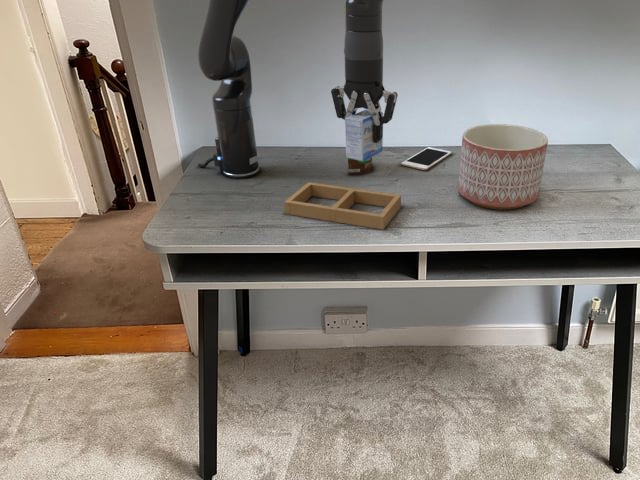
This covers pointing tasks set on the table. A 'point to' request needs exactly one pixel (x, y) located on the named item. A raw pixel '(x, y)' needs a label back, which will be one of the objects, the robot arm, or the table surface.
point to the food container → (359, 166)
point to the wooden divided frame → (343, 205)
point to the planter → (501, 165)
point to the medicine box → (361, 136)
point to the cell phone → (426, 158)
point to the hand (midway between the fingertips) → (364, 140)
